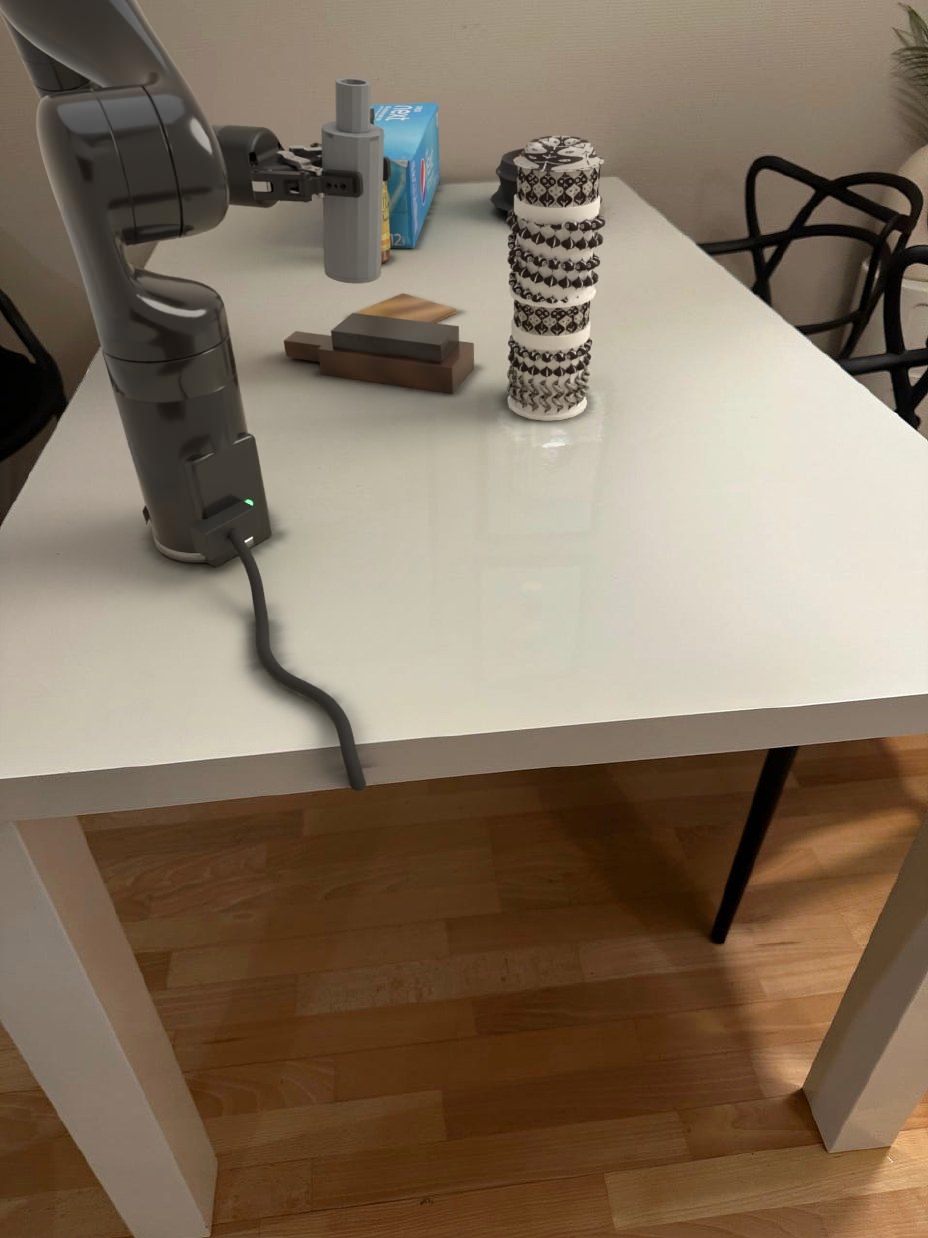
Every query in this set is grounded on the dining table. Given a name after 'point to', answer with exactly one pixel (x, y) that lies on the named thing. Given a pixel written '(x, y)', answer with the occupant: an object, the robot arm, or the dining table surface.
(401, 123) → the soda pack
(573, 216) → the decorative candle
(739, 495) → the dining table surface
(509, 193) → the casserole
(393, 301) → the cork mat
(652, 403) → the dining table surface
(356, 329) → the scrub brush
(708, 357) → the dining table surface
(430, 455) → the dining table surface
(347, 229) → the steel bottle
